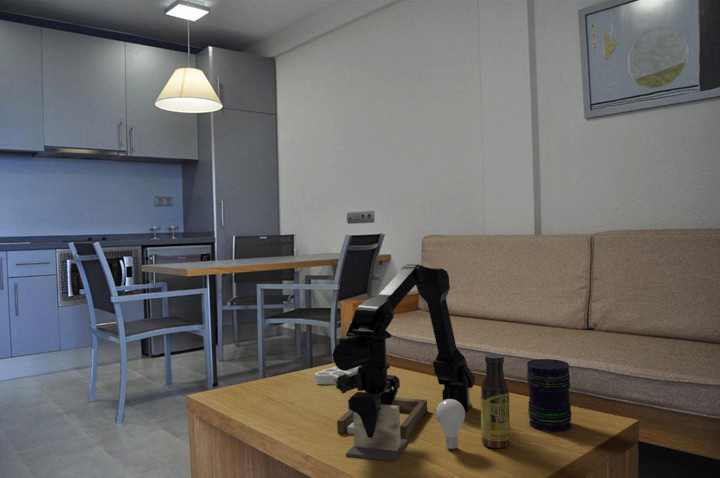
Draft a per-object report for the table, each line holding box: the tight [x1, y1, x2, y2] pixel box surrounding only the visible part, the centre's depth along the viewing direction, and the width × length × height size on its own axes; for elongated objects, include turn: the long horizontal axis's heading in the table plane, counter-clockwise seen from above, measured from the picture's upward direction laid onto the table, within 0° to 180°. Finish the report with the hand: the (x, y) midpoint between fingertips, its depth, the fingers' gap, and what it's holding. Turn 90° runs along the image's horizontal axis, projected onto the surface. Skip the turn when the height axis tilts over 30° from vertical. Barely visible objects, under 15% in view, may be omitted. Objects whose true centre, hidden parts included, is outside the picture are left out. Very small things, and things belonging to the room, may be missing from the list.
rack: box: [336, 397, 428, 439], centre depth 142 cm, size 18×20×3 cm
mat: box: [345, 438, 409, 462], centre depth 125 cm, size 11×11×1 cm
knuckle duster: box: [314, 365, 360, 386], centre depth 185 cm, size 3×18×15 cm
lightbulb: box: [435, 399, 466, 450], centre depth 123 cm, size 6×6×11 cm
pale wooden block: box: [353, 404, 401, 451], centre depth 125 cm, size 10×3×9 cm, turn 70°
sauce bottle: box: [480, 353, 511, 449], centre depth 124 cm, size 7×6×20 cm
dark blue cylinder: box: [526, 358, 572, 433], centre depth 135 cm, size 10×10×15 cm
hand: (377, 429), depth 125 cm, fingers open, 9 cm apart
